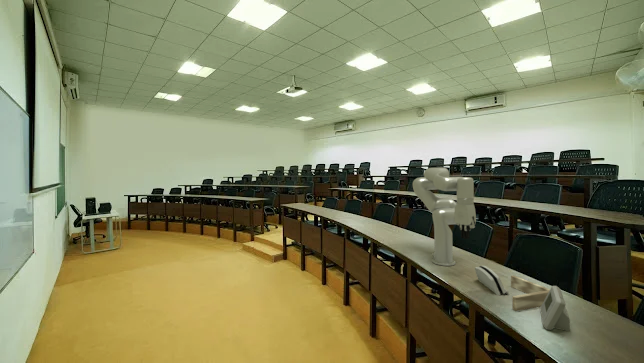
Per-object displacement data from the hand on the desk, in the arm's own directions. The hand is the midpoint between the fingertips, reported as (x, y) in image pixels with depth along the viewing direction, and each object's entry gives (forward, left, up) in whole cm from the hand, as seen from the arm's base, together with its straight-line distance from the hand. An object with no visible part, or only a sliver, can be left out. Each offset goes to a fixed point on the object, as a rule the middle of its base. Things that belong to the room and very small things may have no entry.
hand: (465, 238), depth 138 cm
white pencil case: (+15, 0, -20) cm, 24 cm away
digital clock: (+44, -4, -19) cm, 48 cm away
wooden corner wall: (+27, +1, -19) cm, 33 cm away
